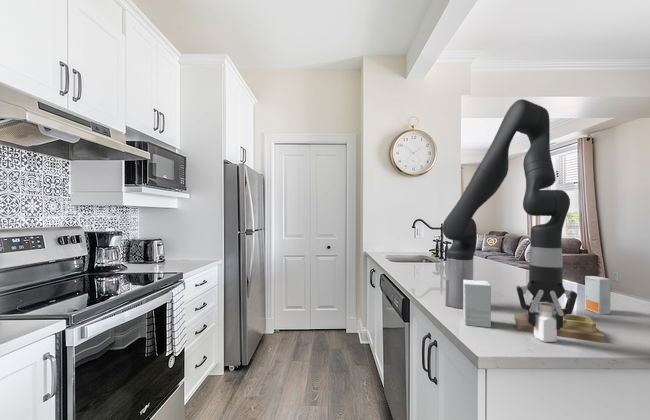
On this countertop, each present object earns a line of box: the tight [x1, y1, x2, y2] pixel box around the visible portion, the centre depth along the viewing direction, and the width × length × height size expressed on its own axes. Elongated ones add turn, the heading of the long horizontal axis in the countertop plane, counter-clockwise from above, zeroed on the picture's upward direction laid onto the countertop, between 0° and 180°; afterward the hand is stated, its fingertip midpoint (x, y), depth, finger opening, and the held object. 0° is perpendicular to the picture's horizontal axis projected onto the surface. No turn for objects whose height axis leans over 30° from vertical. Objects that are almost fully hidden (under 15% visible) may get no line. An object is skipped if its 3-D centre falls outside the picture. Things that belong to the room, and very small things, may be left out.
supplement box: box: [462, 279, 492, 328], centre depth 104 cm, size 7×7×13 cm
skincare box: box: [584, 275, 612, 315], centre depth 117 cm, size 6×4×12 cm
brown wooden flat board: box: [513, 310, 606, 343], centre depth 98 cm, size 20×12×4 cm, turn 65°
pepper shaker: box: [533, 303, 558, 343], centre depth 90 cm, size 4×4×10 cm
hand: (545, 327), depth 90 cm, fingers closed on pepper shaker, 5 cm apart
